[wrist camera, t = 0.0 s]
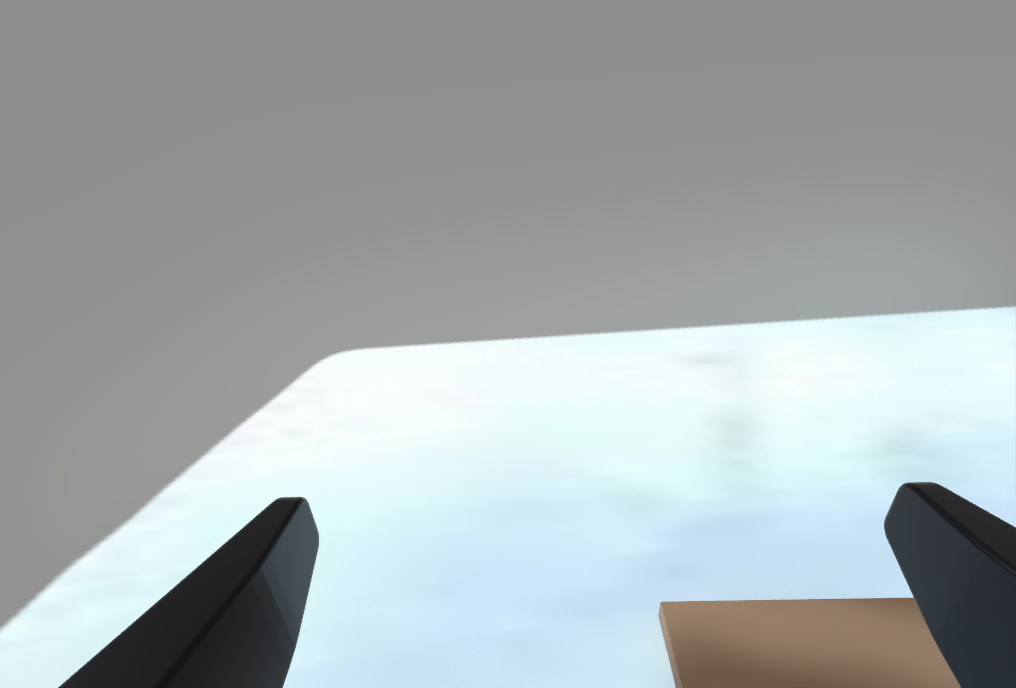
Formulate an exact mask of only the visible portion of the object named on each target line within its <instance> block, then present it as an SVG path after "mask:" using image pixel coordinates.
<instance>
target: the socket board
mask: <svg viewBox="0 0 1016 688" xmlns="http://www.w3.org/2000/svg"><path fill="white" fill-rule="evenodd" d="M659 619H660V623H661V627H662V631H663V636H664V640H665V644H666V648H667V652H668V656H669V660H670V664H671V669H672V673H673V677H674V681H675V685H676V688H961V687H960V685H959V683H958V682H957V680H956V678H955V676H954V675H953V673H952V671H951V670H950V668H949V666H948V664H947V663H946V661H945V659H944V657H943V656H942V654H941V652H940V650H939V648H938V646H937V644H936V643H935V641H934V639H933V637H932V635H931V633H930V631H929V629H928V627H927V625H926V623H925V621H924V619H923V616H922V614H921V612H920V610H919V608H918V605H917V603H916V601H915V599H914V598H869V599H807V600H745V601H683V602H661V604H660V610H659Z"/></svg>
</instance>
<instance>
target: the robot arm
mask: <svg viewBox="0 0 1016 688" xmlns="http://www.w3.org/2000/svg"><path fill="white" fill-rule="evenodd" d="M884 529H885V534H886V537H887V539H888V542H889V544H890V546H891V548H892V550H893V553H894V555H895V557H896V559H897V561H898V564H899V566H900V568H901V570H902V572H903V575H904V577H905V579H906V581H907V583H908V586H909V588H910V590H911V592H912V594H913V597H914V599H915V601H916V603H917V605H918V608H919V610H920V612H921V614H922V616H923V619H924V621H925V623H926V625H927V627H928V629H929V631H930V633H931V635H932V637H933V639H934V641H935V643H936V644H937V646H938V648H939V650H940V652H941V654H942V656H943V657H944V659H945V661H946V663H947V664H948V666H949V668H950V670H951V671H952V673H953V675H954V676H955V678H956V680H957V682H958V683H959V685H960V687H961V688H1016V527H1014V526H1012V525H1010V524H1009V523H1007V522H1005V521H1003V520H1001V519H1000V518H998V517H996V516H994V515H993V514H991V513H989V512H987V511H985V510H984V509H982V508H980V507H978V506H977V505H975V504H973V503H971V502H969V501H968V500H966V499H964V498H962V497H961V496H959V495H957V494H955V493H953V492H952V491H950V490H948V489H946V488H945V487H943V486H941V485H939V484H936V483H932V482H914V483H905V484H903V485H902V486H900V488H899V489H898V491H897V493H896V495H895V498H894V500H893V502H892V504H891V507H890V509H889V511H888V513H887V515H886V518H885V522H884ZM318 547H319V533H318V529H317V526H316V523H315V521H314V518H313V515H312V512H311V509H310V506H309V503H308V501H307V500H306V499H305V498H303V497H282V498H278V499H276V500H275V501H273V502H272V503H271V504H270V505H269V506H268V507H266V508H265V509H264V510H263V511H262V512H261V513H259V514H258V515H257V516H256V517H255V518H254V519H253V520H251V521H250V522H249V523H248V524H247V525H246V526H244V527H243V528H242V529H241V530H240V531H239V532H238V533H236V534H235V535H234V536H233V537H232V538H231V539H229V540H228V541H227V542H226V543H225V544H224V545H222V546H221V547H220V548H219V549H218V550H217V551H216V552H214V553H213V554H212V555H211V556H210V557H209V558H207V559H206V560H205V561H204V562H203V563H202V564H201V565H199V566H198V567H197V568H196V569H195V570H194V571H192V572H191V573H190V574H189V575H188V576H187V577H186V578H184V579H183V580H182V581H181V582H180V583H179V584H177V585H176V586H175V587H174V588H173V589H172V590H170V591H169V592H168V593H167V594H166V595H165V596H164V597H162V598H161V599H160V600H159V601H158V602H157V603H155V604H154V605H153V606H152V607H151V608H150V609H149V610H147V611H146V612H145V613H144V614H143V615H142V616H140V617H139V618H138V619H137V620H136V621H135V622H134V623H132V624H131V625H130V626H129V627H128V628H127V629H125V630H124V631H123V632H122V633H121V634H120V635H118V636H117V637H116V638H115V639H114V640H113V641H112V642H110V643H109V644H108V645H107V646H106V647H105V648H103V649H102V650H101V651H100V652H99V653H98V654H97V655H95V656H94V657H93V658H92V659H91V660H90V661H88V662H87V663H86V664H85V665H84V666H83V667H82V668H80V669H79V670H78V671H77V672H76V673H75V674H73V675H72V676H71V677H70V678H69V679H68V680H66V681H65V682H64V683H63V684H62V685H61V686H60V687H58V688H283V685H284V682H285V679H286V676H287V673H288V670H289V667H290V664H291V661H292V657H293V654H294V651H295V648H296V644H297V640H298V636H299V632H300V628H301V623H302V619H303V614H304V610H305V605H306V601H307V596H308V592H309V587H310V583H311V578H312V574H313V570H314V565H315V561H316V556H317V552H318Z"/></svg>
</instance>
